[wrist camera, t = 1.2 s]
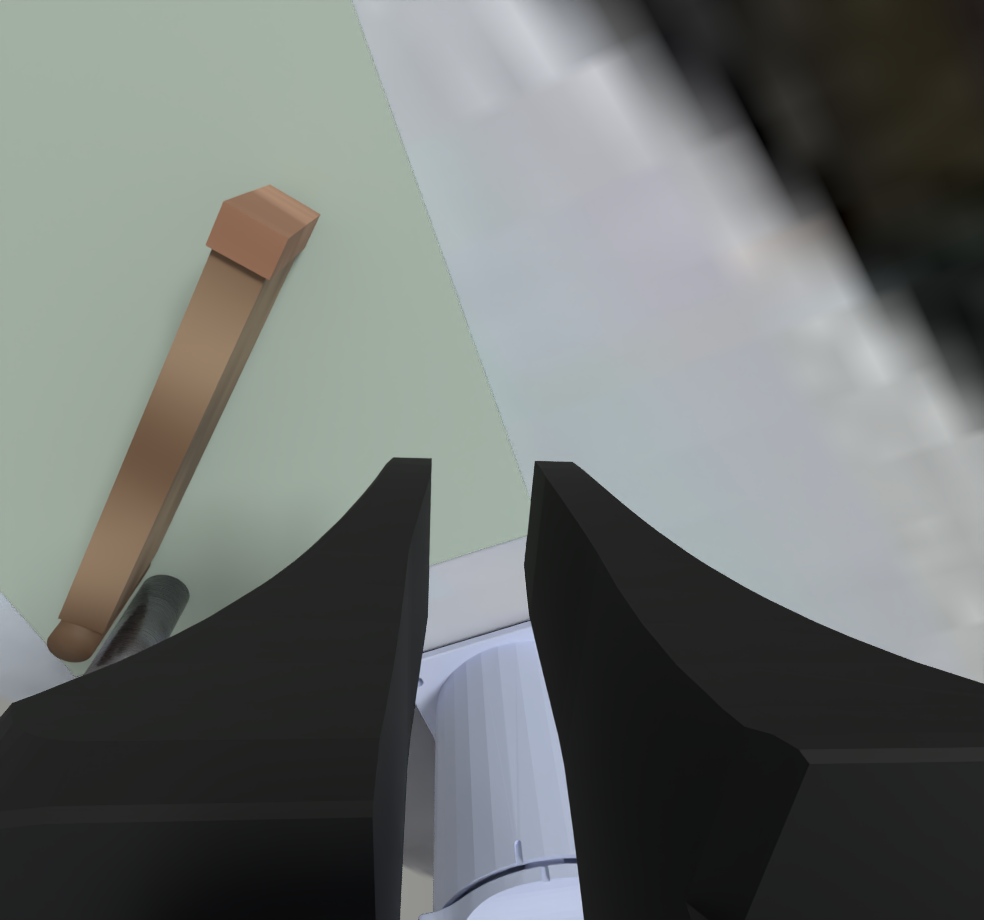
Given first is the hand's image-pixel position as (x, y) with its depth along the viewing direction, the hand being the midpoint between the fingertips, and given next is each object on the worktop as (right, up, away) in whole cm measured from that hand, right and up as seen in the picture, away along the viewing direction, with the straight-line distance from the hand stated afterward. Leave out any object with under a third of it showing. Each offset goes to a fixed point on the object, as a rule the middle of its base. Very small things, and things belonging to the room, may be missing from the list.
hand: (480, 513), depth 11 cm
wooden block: (-8, +2, +9) cm, 12 cm away
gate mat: (-10, +5, +9) cm, 14 cm away
